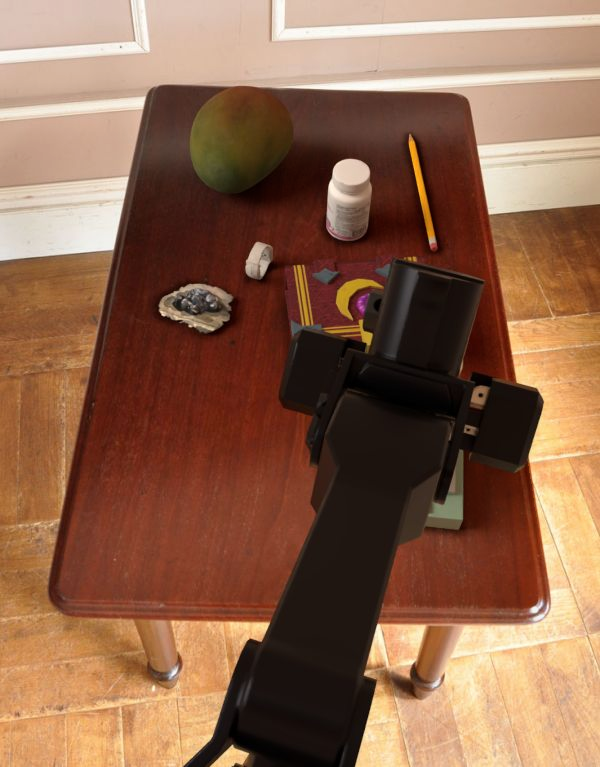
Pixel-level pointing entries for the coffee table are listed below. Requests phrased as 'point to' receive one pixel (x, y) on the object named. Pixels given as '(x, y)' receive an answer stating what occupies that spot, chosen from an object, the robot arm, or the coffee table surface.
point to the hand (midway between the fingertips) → (415, 380)
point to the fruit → (240, 138)
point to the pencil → (422, 195)
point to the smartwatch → (259, 260)
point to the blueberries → (198, 306)
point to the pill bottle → (349, 200)
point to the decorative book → (335, 294)
